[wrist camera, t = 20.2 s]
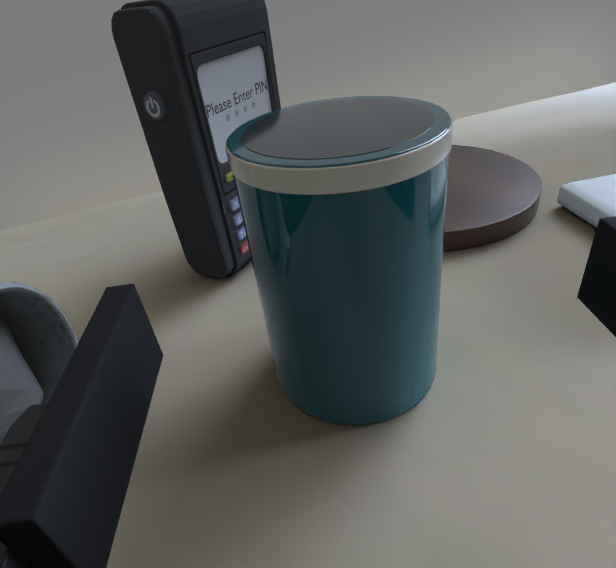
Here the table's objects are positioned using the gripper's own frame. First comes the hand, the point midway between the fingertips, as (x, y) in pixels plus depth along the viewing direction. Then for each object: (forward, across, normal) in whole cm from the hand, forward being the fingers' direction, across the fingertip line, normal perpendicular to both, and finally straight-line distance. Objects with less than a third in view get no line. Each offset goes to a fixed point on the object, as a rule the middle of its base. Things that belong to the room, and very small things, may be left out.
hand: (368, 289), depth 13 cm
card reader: (+17, -6, -8) cm, 20 cm away
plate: (+21, +8, -8) cm, 24 cm away
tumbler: (+5, 0, -8) cm, 9 cm away
